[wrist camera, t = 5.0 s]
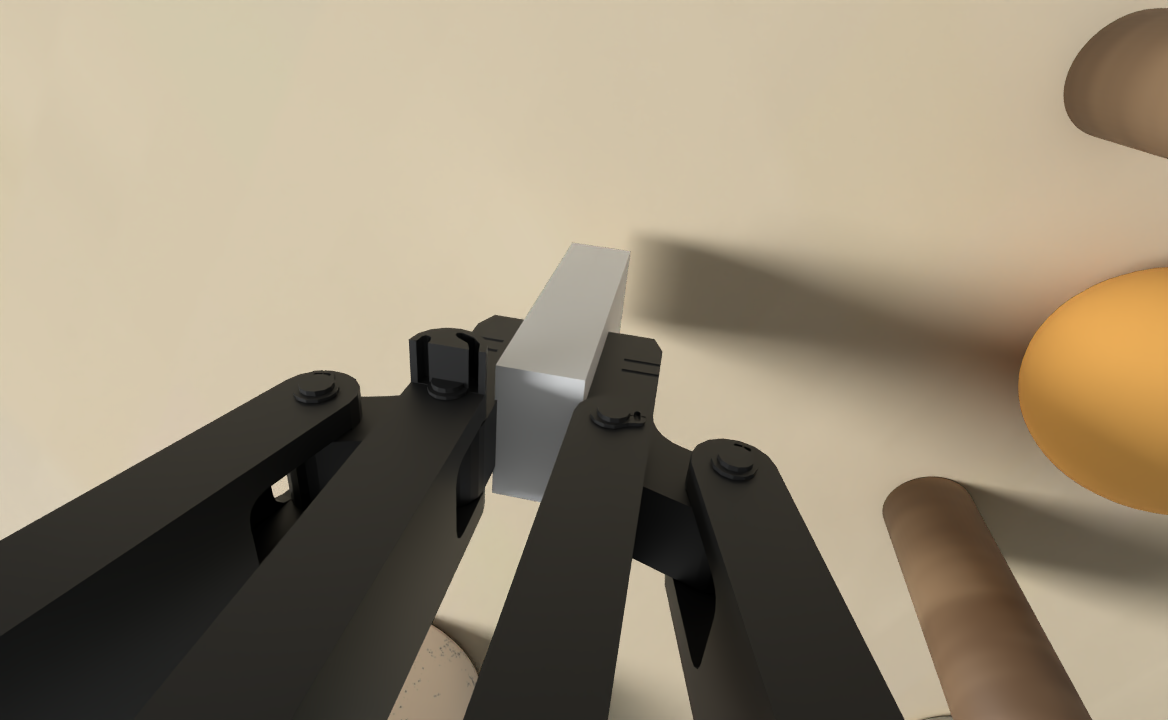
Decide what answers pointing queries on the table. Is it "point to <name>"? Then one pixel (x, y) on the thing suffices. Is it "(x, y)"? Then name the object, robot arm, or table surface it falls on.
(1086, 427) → the ball
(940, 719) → the energy drink
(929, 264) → the table surface
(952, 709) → the post
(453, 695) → the teacup with lid
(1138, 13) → the post
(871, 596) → the table surface
